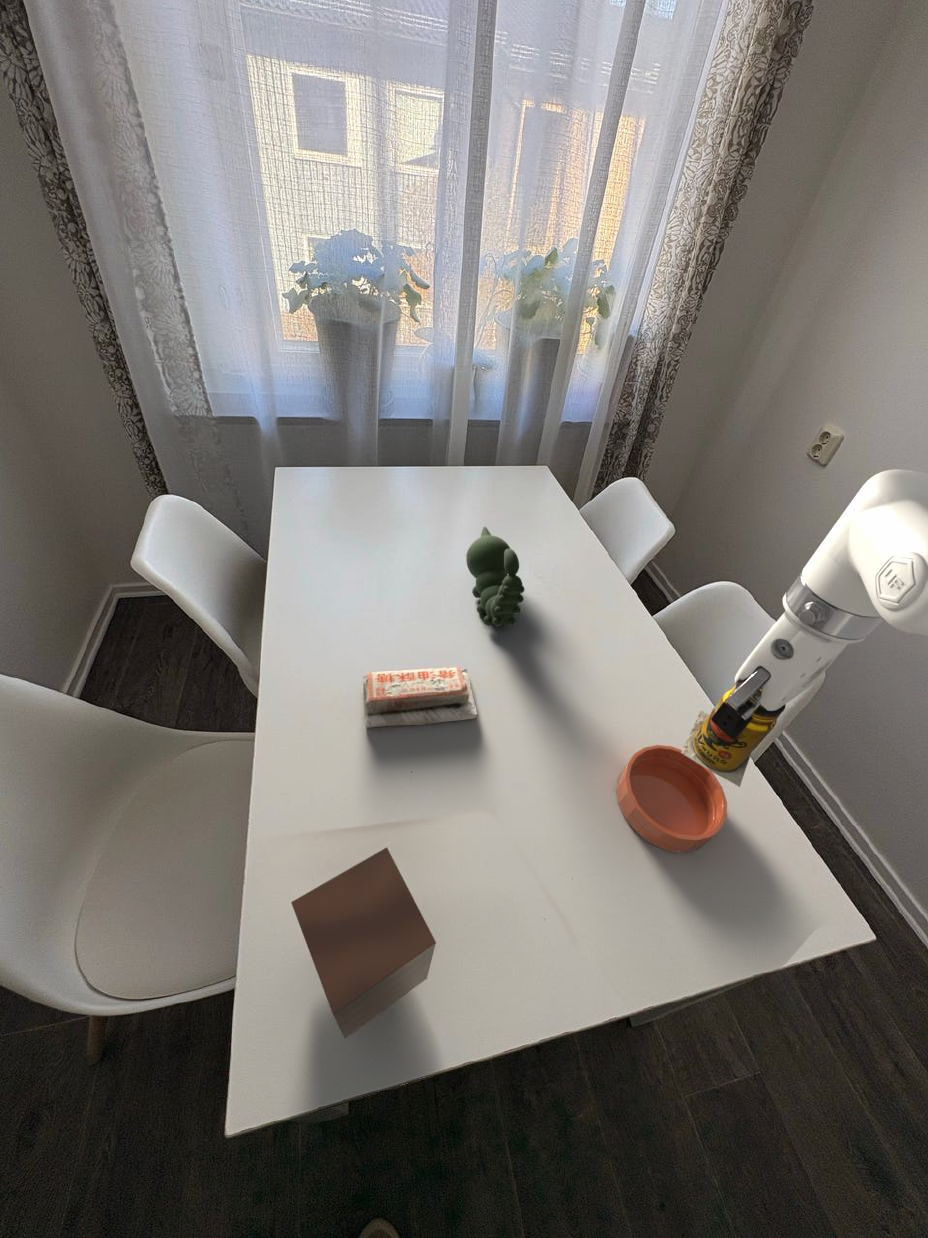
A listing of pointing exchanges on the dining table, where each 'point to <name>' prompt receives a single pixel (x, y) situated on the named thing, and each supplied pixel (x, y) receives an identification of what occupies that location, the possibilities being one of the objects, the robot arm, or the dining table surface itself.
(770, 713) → the condiment
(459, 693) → the packaged product
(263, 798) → the dining table surface
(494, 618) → the toy figurine
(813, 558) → the robot arm
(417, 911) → the stand
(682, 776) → the dish
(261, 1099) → the dining table surface
